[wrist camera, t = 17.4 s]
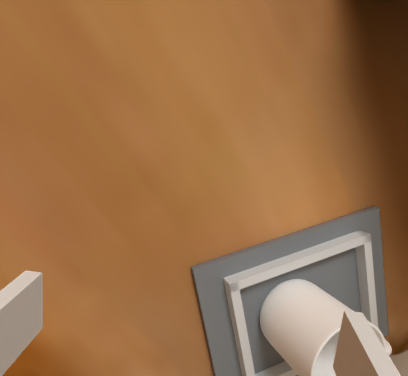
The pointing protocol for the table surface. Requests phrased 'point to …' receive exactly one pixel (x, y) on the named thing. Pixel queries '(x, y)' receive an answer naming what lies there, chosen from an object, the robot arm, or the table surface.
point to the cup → (305, 326)
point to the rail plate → (282, 271)
